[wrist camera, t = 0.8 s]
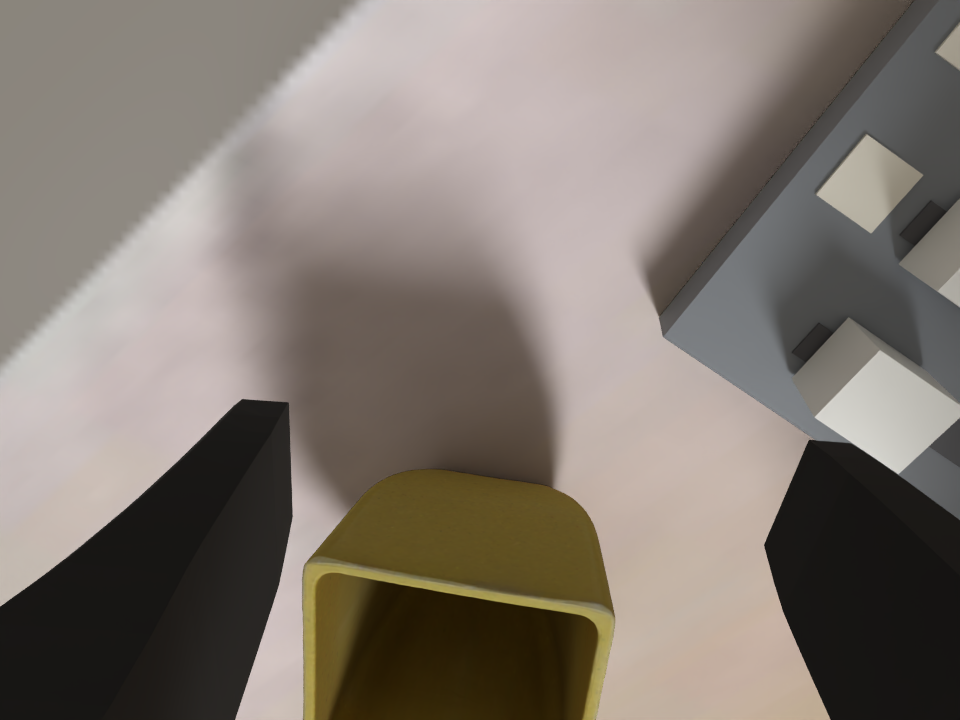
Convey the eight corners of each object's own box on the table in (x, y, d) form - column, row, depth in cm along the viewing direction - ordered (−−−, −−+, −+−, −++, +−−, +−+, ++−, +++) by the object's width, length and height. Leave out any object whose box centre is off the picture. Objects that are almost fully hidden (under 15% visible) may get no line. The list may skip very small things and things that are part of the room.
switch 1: (926, 371, 23) (967, 410, 20) (866, 429, 24) (898, 474, 21) (848, 317, 23) (879, 350, 20) (791, 378, 24) (814, 417, 21)
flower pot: (615, 450, 28) (619, 614, 20) (581, 632, 31) (573, 837, 23) (387, 415, 29) (300, 557, 21) (378, 595, 32) (300, 779, 24)
